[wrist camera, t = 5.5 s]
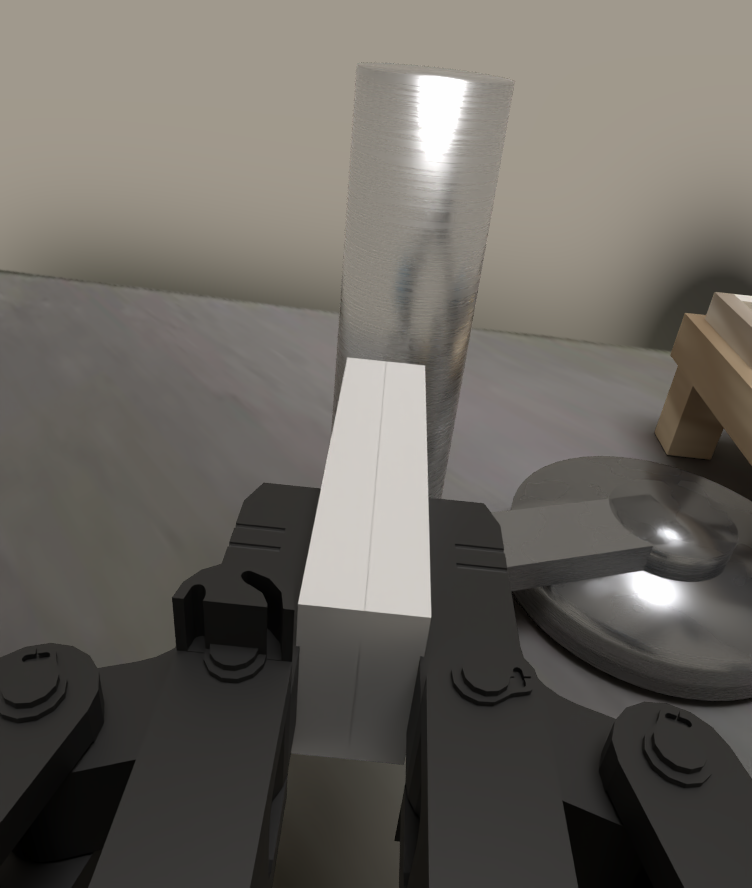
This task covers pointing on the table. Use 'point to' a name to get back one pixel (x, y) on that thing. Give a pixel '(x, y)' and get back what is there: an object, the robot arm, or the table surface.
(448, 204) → the silver l-shaped piece
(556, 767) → the robot arm
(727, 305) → the stand
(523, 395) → the table surface
